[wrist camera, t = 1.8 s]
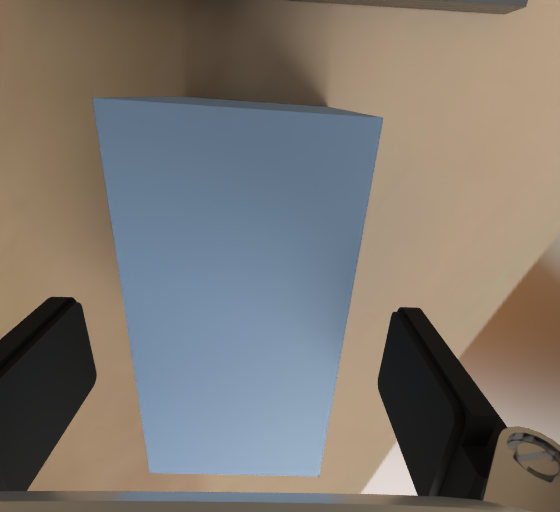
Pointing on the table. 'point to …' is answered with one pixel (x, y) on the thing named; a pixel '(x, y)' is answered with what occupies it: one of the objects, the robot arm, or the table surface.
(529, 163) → the table surface
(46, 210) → the table surface
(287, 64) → the table surface
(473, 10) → the dowel plate
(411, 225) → the table surface
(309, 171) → the blue block
